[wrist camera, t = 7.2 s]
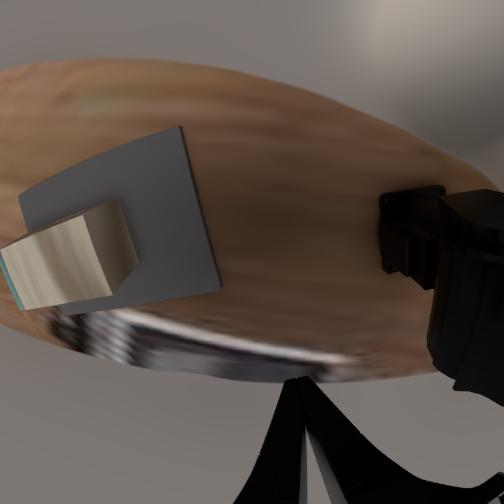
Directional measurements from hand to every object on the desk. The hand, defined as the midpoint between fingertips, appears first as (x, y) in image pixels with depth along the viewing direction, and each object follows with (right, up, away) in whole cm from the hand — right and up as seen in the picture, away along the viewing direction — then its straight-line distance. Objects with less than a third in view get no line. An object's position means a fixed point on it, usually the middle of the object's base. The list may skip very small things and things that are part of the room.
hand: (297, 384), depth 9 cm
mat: (-13, +6, +10) cm, 18 cm away
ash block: (-10, +5, +7) cm, 14 cm away
